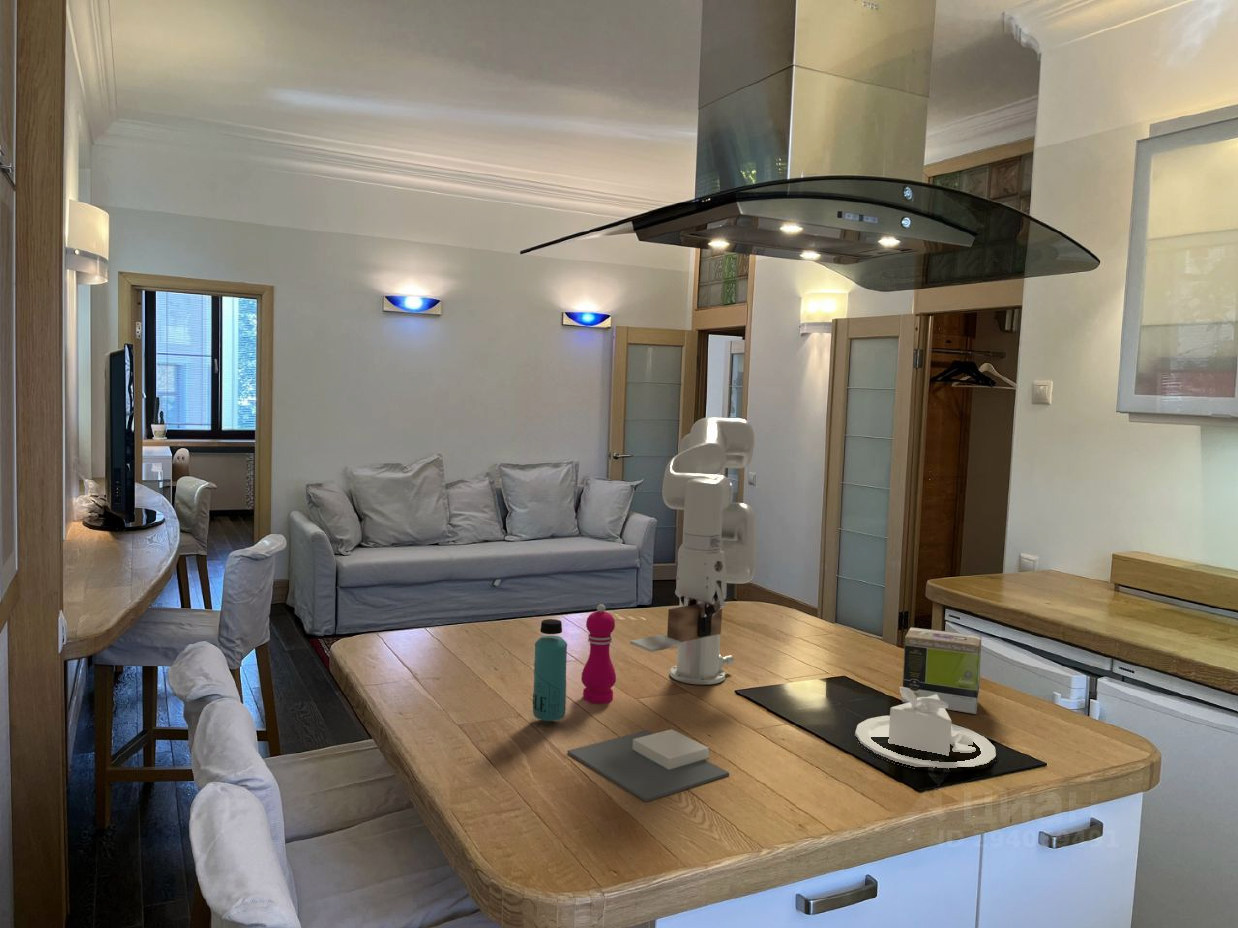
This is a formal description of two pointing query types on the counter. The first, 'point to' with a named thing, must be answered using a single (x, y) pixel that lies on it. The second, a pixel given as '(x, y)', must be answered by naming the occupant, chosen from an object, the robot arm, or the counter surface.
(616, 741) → the tile mat
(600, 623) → the pepper mill
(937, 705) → the dish
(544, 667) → the beverage bottle
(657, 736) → the tile
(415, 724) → the counter surface
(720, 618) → the wooden handled spatula
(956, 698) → the tea box
